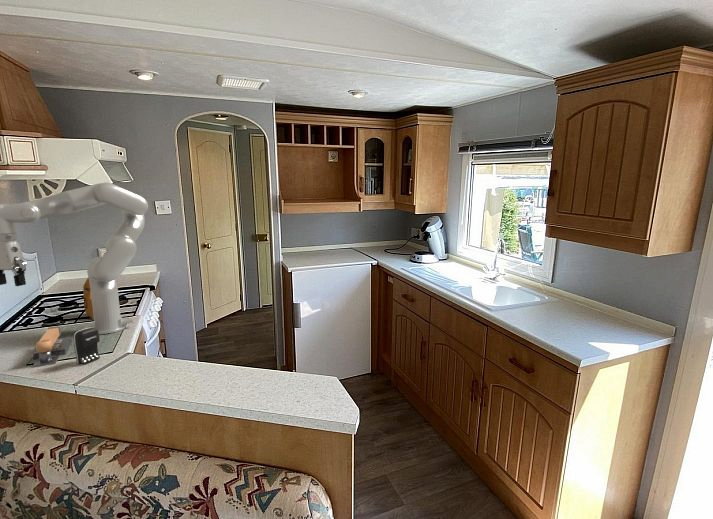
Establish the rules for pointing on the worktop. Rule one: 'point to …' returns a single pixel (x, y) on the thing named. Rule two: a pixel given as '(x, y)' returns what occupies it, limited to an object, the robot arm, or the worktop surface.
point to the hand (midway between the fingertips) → (11, 285)
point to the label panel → (57, 347)
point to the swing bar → (48, 339)
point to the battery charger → (86, 345)
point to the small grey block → (45, 359)
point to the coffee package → (88, 299)
